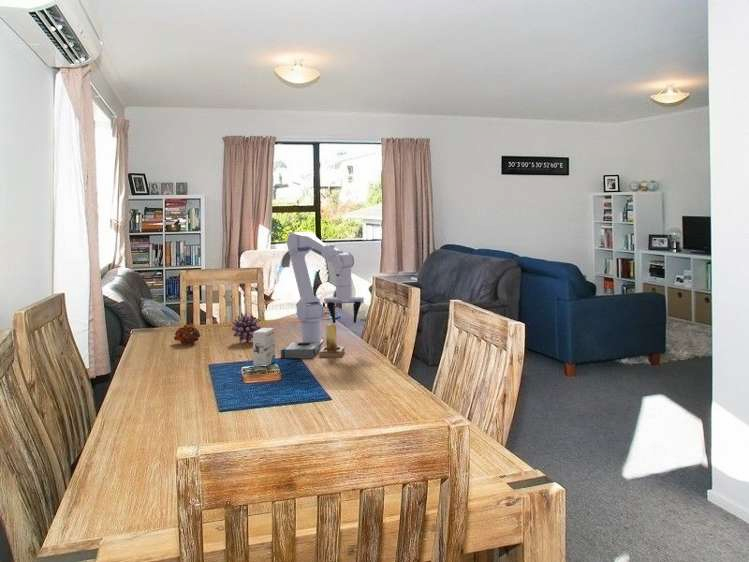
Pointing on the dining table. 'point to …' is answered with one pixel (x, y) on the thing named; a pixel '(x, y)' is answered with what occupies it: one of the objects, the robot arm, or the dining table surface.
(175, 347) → the dining table surface
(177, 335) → the brown knobbly lump
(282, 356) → the drift key
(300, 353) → the socket block
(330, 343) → the yellow rectangular block
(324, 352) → the rack
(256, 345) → the ink box
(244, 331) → the purple spiky ball
